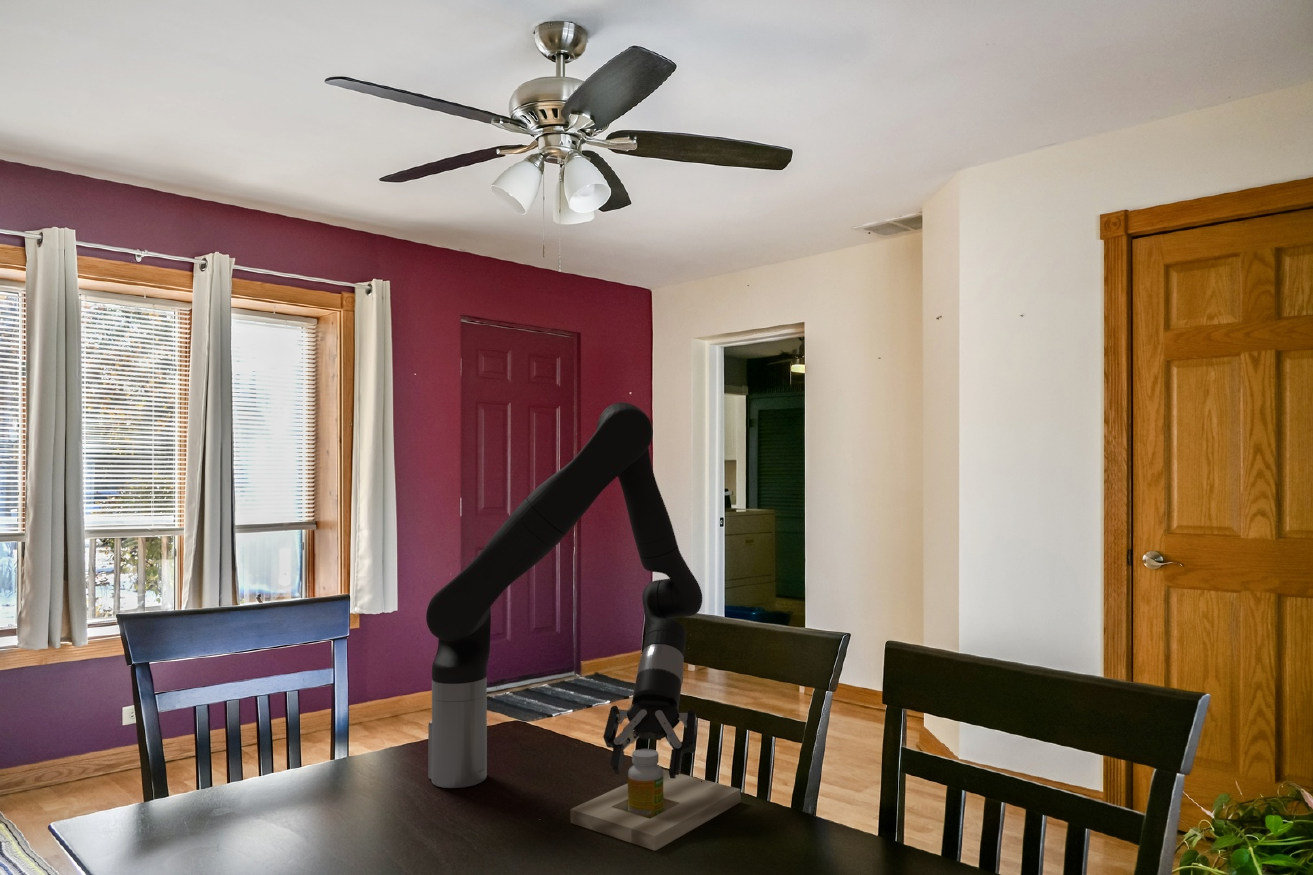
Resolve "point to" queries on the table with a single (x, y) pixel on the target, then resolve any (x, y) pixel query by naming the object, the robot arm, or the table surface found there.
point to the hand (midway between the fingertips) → (644, 774)
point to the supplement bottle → (645, 784)
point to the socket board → (682, 813)
